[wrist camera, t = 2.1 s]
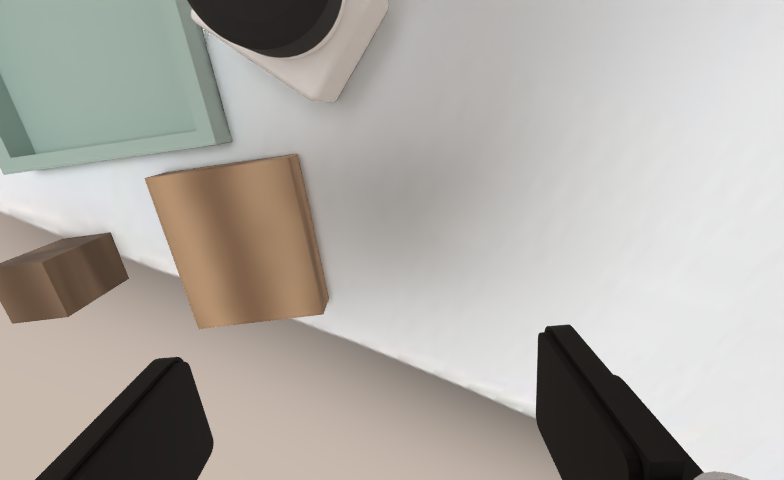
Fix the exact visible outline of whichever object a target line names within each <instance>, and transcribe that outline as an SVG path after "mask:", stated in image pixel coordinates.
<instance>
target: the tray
mask: <svg viewBox="0 0 784 480" xmlns="http://www.w3.org/2000/svg"><path fill="white" fill-rule="evenodd" d="M191 10H192V7H191V6H190V4H189V3H188V1H187V0H0V168H1V170H2V172H3V174H4V175H6V174H13V173H20V172H27V171H34V170H41V169H48V168H55V167H62V166H69V165H76V164H83V163H90V162H97V161H104V160H111V159H118V158H125V157H132V156H139V155H146V154H153V153H160V152H167V151H174V150H182V149H189V148H196V147H203V146H210V145H217V144H222V143H227V142H232V139H231V136H230V132H229V128H228V125H227V121H226V117H225V114H224V110H223V106H222V102H221V99H220V95H219V91H218V88H217V84H216V80H215V77H214V73H213V69H212V65H211V62H210V58H209V54H208V51H207V47H206V43H205V40H204V36H203V32H202V28H201V26H200V25H198V24H197V23H195V21H194V20H193V19H192V17H191Z"/></svg>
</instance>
